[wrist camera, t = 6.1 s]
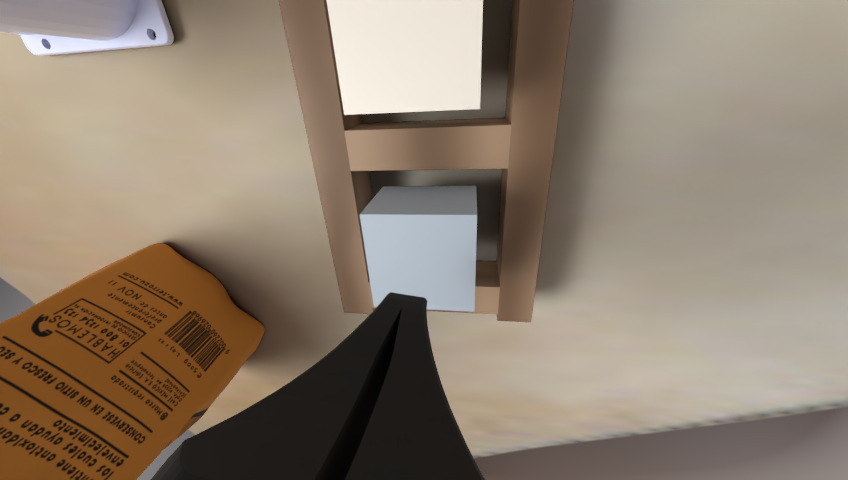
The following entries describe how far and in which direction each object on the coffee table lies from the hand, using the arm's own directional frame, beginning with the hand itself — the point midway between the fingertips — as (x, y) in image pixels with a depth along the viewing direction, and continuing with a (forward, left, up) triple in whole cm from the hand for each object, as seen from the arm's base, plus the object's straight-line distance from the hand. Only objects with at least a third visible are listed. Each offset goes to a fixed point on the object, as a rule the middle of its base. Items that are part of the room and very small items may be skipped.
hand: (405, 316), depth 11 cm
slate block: (0, 0, -8) cm, 8 cm away
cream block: (0, +9, -7) cm, 12 cm away
